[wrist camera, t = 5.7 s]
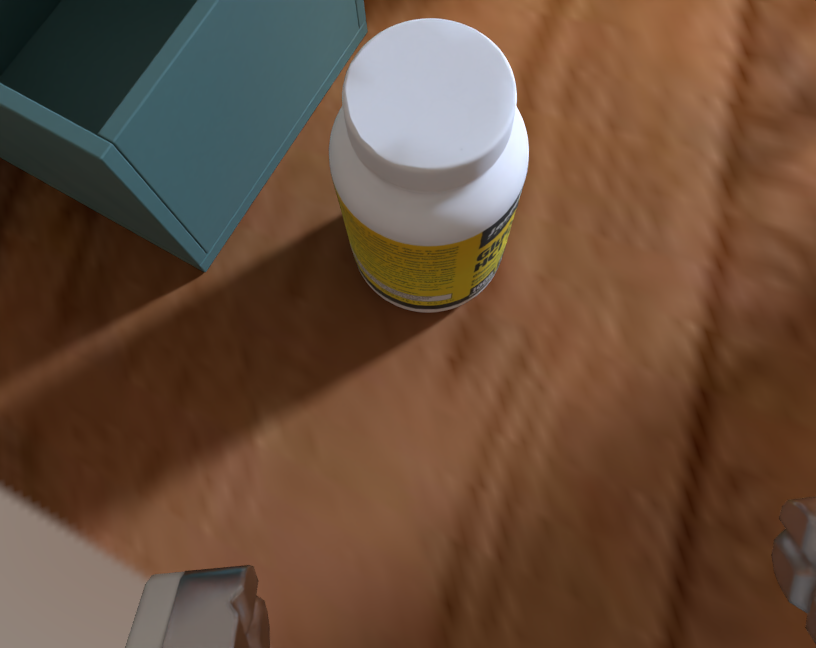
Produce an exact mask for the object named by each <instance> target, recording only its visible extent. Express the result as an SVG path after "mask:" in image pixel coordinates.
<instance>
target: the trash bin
mask: <svg viewBox="0 0 816 648" xmlns="http://www.w3.org/2000/svg"><path fill="white" fill-rule="evenodd" d="M366 33H367V23H366V16H365V8H364V0H0V158H2V159H4V160H6V161H7V162H9V163H11V164H13V165H14V166H16V167H18V168H20V169H22V170H23V171H25V172H27V173H29V174H30V175H32V176H34V177H36V178H38V179H39V180H41V181H43V182H45V183H46V184H48V185H50V186H52V187H54V188H55V189H57V190H59V191H61V192H62V193H64V194H66V195H68V196H70V197H71V198H73V199H75V200H77V201H78V202H80V203H82V204H84V205H86V206H87V207H89V208H91V209H93V210H94V211H96V212H98V213H100V214H102V215H103V216H105V217H107V218H109V219H110V220H112V221H114V222H116V223H118V224H119V225H121V226H123V227H125V228H126V229H128V230H130V231H132V232H134V233H135V234H137V235H139V236H141V237H142V238H144V239H146V240H148V241H150V242H151V243H153V244H155V245H157V246H158V247H160V248H162V249H164V250H166V251H167V252H169V253H171V254H173V255H174V256H176V257H178V258H180V259H182V260H183V261H185V262H187V263H189V264H190V265H192V266H194V267H196V268H198V269H199V270H201V271H203V272H206V271H207V270H208V268H209V267H210V265H211V264H212V262H213V261H214V259H215V258H216V256H217V255H218V253H219V252H220V250H221V249H222V247H223V246H224V244H225V243H226V241H227V240H228V238H229V237H230V235H231V234H232V232H233V231H234V229H235V228H236V227H237V225H238V224H239V222H240V221H241V219H242V218H243V216H244V215H245V213H246V212H247V210H248V209H249V207H250V206H251V204H252V203H253V201H254V200H255V198H256V197H257V195H258V194H259V192H260V191H261V189H262V188H263V186H264V185H265V183H266V182H267V180H268V179H269V177H270V176H271V174H272V173H273V171H274V170H275V168H276V167H277V166H278V164H279V163H280V161H281V160H282V158H283V157H284V155H285V154H286V152H287V151H288V149H289V148H290V146H291V145H292V143H293V142H294V140H295V139H296V137H297V136H298V134H299V133H300V131H301V130H302V128H303V127H304V125H305V124H306V122H307V121H308V119H309V118H310V116H311V115H312V113H313V112H314V110H315V109H316V107H317V106H318V105H319V103H320V102H321V100H322V99H323V97H324V96H325V94H326V93H327V91H328V90H329V88H330V87H331V85H332V84H333V82H334V81H335V79H336V78H337V76H338V75H339V73H340V72H341V70H342V69H343V67H344V66H345V64H346V63H347V61H348V60H349V58H350V57H351V55H352V54H353V52H354V51H355V49H356V48H357V46H358V45H359V44H360V42H361V41H362V39H363V38H364V36H365V35H366Z"/></svg>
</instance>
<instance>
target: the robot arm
mask: <svg viewBox="0 0 816 648" xmlns="http://www.w3.org/2000/svg"><path fill="white" fill-rule="evenodd" d="M779 519H780V521H781V522H782V524H783V525H784V527H785V528H786V529H785V530H784V531H783V532H781V533H780V534H779V535H778V536H777V537H776V538H775V539H774V543H773V549H772V555H771V556H772V562H773V568H774V574H775V576H776V578H777V581H778V583H779V586H780V588H781V590H782V591H783V593H784V595H785V596H786V598H787V599H788V601H789V602H790V603H792V604H793V605H795V606H796V607H798V608H800V609H801V610H803V611H804V612H806V613H807V620H806V627H805V628H806V630H807V631H808V633H809V634H810V636H811V637H812V639H813V640H814V642H815V644H816V496H814V497H806V498H798V499H791V500H787V501H786V502H785V503H784V505H783V506H782V508H781V512H780V516H779ZM257 587H258V578H257V575H256V573H255V570H254V567H253V566H251V565H245V566H234V567H223V568H213V569H202V570H191V571H185V572H175V573H165V574H155V575H152V576H151V577H150V579H149V580H148V581H147V583H146V584H145V587H144V590H143V593H142V596H141V599H140V603H139V606H138V609H137V612H136V615H135V618H134V621H133V625H132V627H131V631H130V634H129V637H128V640H127V643H126V646H125V648H270V626H269V619H268V612H267V608H266V605H265V601H264V600H263V599H261V598H260V597H258V596H257V595H256V594H257Z"/></svg>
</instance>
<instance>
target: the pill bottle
mask: <svg viewBox="0 0 816 648" xmlns="http://www.w3.org/2000/svg"><path fill="white" fill-rule="evenodd" d="M516 102H517V92H516V84H515V79H514V75H513V72H512V69H511V67H510V64H509V63H508V61H507V59H506V57H505V56H504V54H503V53H502V52H501V50H500V49H499V48H498V47H497V46H496V45H495V44H494V43H493V42H492V41H491V40H490V39H488V38H487V37H486V36H485V35H483V34H482V33H480V32H478V31H477V30H475V29H473V28H471V27H469V26H466V25H464V24H461V23H459V22H454V21H450V20H445V19H435V18H427V19H417V20H410V21H406V22H403V23H399V24H397V25H394V26H392V27H390V28H387V29H386V30H384V31H382V32H380V33H379V34H377V35H376V36H374V37H373V38H372V39H371V40H369V41H368V42H367V43H366V44H365V45H364V46H363V47H362V48H361V49H360V50H359V52H358V53H357V54H356V56H355V57H354V59H353V60H352V62H351V64H350V66H349V68H348V70H347V73H346V76H345V79H344V84H343V91H342V105H343V106H342V107H341V109H340V111H339V113H338V115H337V117H336V119H335V122H334V125H333V128H332V132H331V137H330V143H329V161H330V170H331V175H332V179H333V184H334V187H335V190H336V194H337V197H338V201H339V204H340V208H341V212H342V215H343V219H344V223H345V226H346V230H347V234H348V238H349V241H350V245H351V249H352V252H353V256H354V259H355V261H356V264H357V266H358V269H359V271H360V273H361V275H362V276H363V278H364V279H365V281H366V282H367V283H368V285H369V286H370V287H371V288H372V289H373V290H374V291H375V292H376V293H377V294H378V295H379V296H381V297H382V298H383V299H385V300H386V301H388V302H390V303H392V304H394V305H396V306H398V307H401V308H403V309H407V310H411V311H416V312H440V311H445V310H449V309H453V308H456V307H458V306H461V305H463V304H465V303H466V302H468V301H470V300H471V299H473V298H474V297H475V296H477V295H478V294H479V293H480V292H481V291H482V290H483V289H484V288H485V287H486V286H487V285H488V284H489V282H490V281H491V279H492V278H493V276H494V275H495V273H496V271H497V269H498V267H499V264H500V262H501V259H502V256H503V252H504V250H505V246H506V242H507V239H508V235H509V231H510V228H511V224H512V221H513V218H514V215H515V212H516V209H517V206H518V202H519V198H520V195H521V192H522V189H523V185H524V182H525V178H526V175H527V170H528V159H529V145H528V135H527V132H526V128H525V125H524V122H523V119H522V117H521V114H520V112H519V110H518V108H517V107H516Z"/></svg>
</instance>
